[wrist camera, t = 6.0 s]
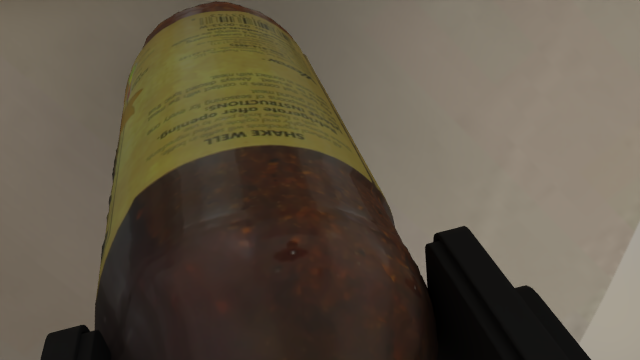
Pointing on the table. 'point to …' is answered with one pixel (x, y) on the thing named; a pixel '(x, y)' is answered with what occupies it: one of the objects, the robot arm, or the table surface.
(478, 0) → the table surface
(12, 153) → the table surface
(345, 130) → the sauce bottle
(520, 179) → the table surface
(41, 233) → the table surface
